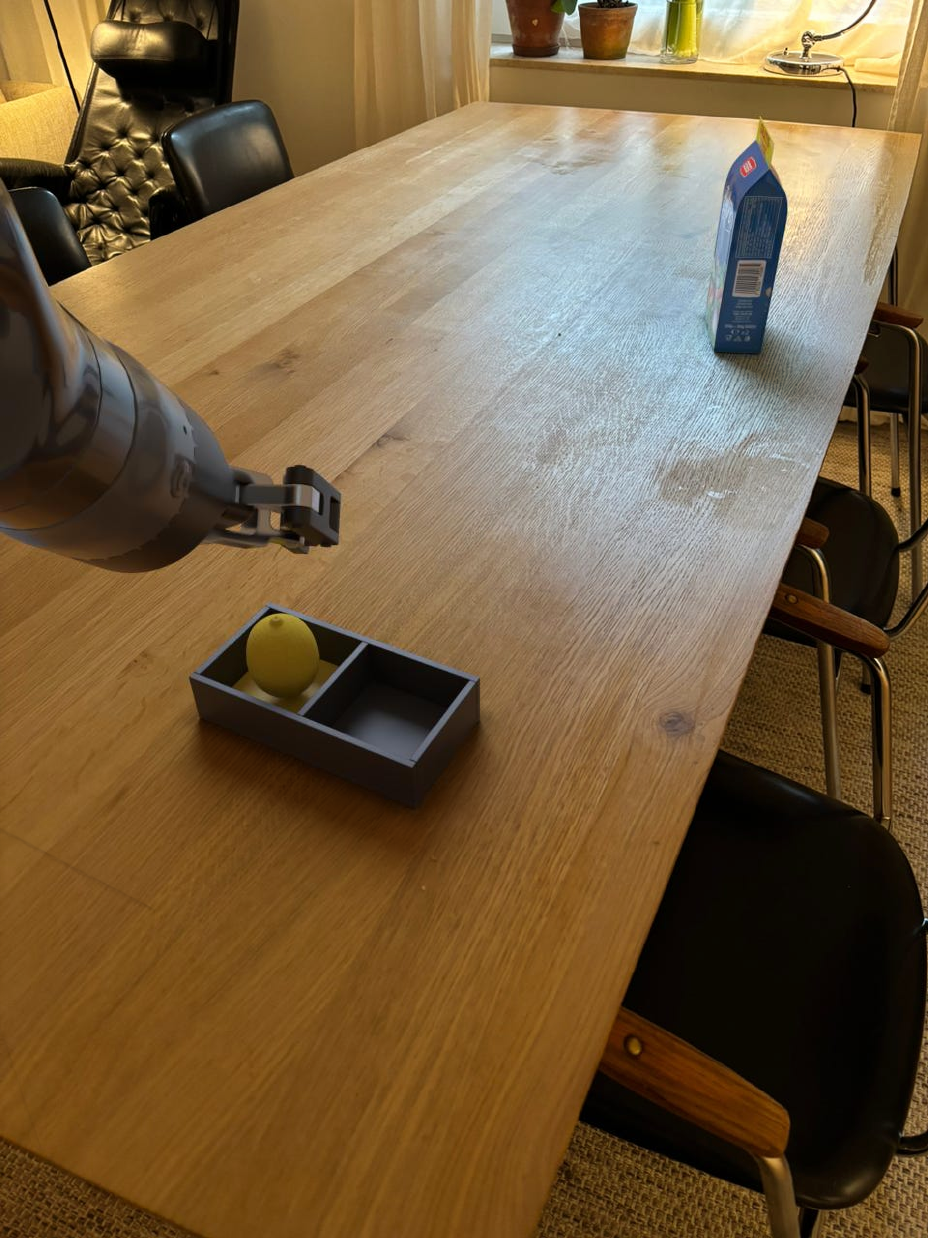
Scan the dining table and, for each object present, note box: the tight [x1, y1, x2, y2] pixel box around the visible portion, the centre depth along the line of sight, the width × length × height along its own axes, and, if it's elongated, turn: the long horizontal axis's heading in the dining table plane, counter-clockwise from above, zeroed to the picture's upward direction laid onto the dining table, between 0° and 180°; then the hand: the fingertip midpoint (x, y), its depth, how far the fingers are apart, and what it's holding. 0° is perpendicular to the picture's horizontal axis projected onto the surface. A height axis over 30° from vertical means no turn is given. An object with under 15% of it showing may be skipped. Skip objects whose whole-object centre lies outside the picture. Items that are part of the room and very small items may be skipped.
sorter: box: [188, 601, 481, 810], centre depth 77 cm, size 10×20×4 cm, turn 62°
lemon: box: [246, 614, 319, 698], centre depth 77 cm, size 6×6×8 cm
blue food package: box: [704, 116, 789, 354], centre depth 123 cm, size 6×12×25 cm, turn 175°
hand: (223, 531), depth 52 cm, fingers open, 8 cm apart
